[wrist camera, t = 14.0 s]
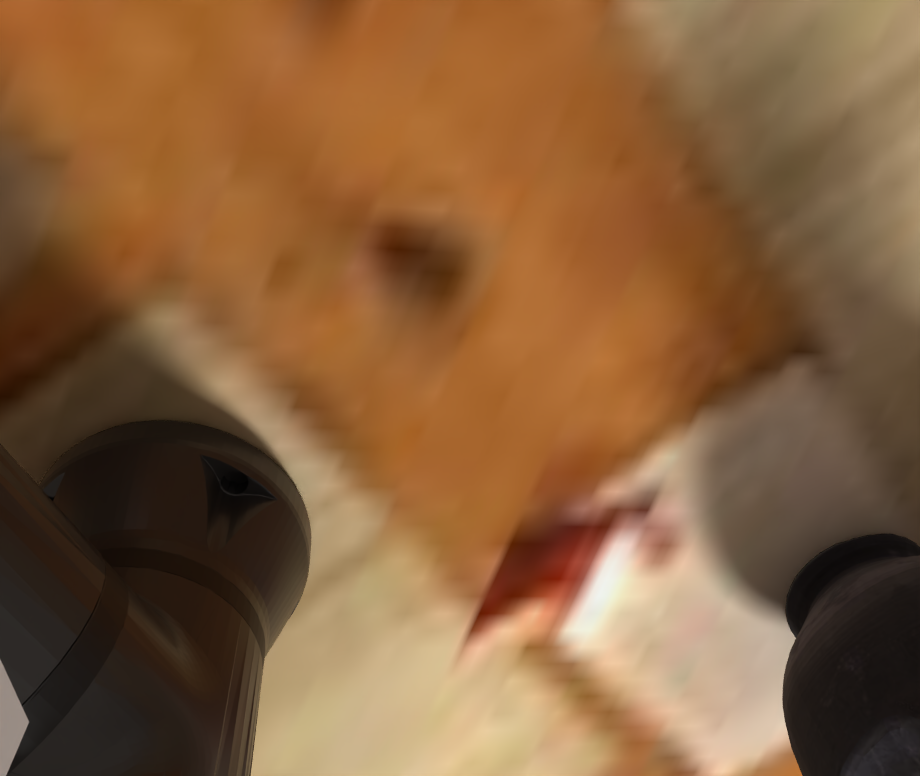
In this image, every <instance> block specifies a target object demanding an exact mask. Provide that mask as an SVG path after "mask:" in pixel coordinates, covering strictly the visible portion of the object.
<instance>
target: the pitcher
mask: <svg viewBox="0 0 920 776" xmlns="http://www.w3.org/2000/svg"><path fill="white" fill-rule="evenodd" d="M786 615H787V621H788V624H789V627H790V629H791V631H792V633H793V634H794V636H795V637H796V640H795V642H794V644H793V647H792V649H791V651H790V654H789V658H788V661H787V665H786V669H785V674H784V681H783V698H782V699H783V711H784V717H785V723H786V727H787V731H788V735H789V739H790V743H791V747H792V750H793V752H794V755H795V758H796V760H797V763H798V765H799V768H800V770H801V773H802V775H803V776H920V547H919V546H918V545H917V544H916V543H914V542H913V541H911V540H909V539H907V538H904V537H901V536H897V535H893V534H880V535H867V536H863V537H858V538H854V539H851V540H848V541H845V542H842V543H839V544H836V545H834V546H832V547H830V548H828V549H827V550H825V551H823V552H821V553H820V554H819V555H817V556H816V557H815V558H814V559H813V560H811V561H810V562H809V563H808V564H807V565H806V566H805V567H804V568H803V569H802V570H801V571H800V572H799V574H798V575H797V577H796V578H795V580H794V581H793V583H792V585H791V588H790V590H789V593H788V595H787V603H786Z"/></svg>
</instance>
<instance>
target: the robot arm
mask: <svg viewBox="0 0 920 776" xmlns="http://www.w3.org/2000/svg"><path fill="white" fill-rule="evenodd" d="M310 551H311V528H310V522H309V518H308V514H307V511H306V508H305V505H304V503H303V500H302V498H301V496H300V494H299V493H298V491H297V489H296V487H295V486H294V484H293V483H292V481H291V480H290V479H289V478H288V476H287V475H286V474H285V473H284V472H283V471H282V469H281V468H280V467H279V466H278V465H277V464H276V463H274V462H273V461H272V460H271V459H270V458H269V457H267V456H266V455H265V454H264V453H262V452H261V451H259V450H258V449H257V448H255V447H253V446H252V445H250V444H249V443H247V442H245V441H243V440H241V439H239V438H237V437H235V436H233V435H230V434H228V433H226V432H223V431H220V430H217V429H214V428H210V427H207V426H203V425H198V424H194V423H187V422H179V421H144V422H136V423H130V424H125V425H121V426H117V427H114V428H110V429H107V430H105V431H102V432H99V433H97V434H95V435H93V436H91V437H88V438H87V439H85V440H83V441H81V442H80V443H78V444H77V445H75V446H74V447H72V448H71V449H70V450H68V451H67V452H66V453H65V454H63V455H62V456H61V457H60V458H59V459H58V460H57V461H56V462H55V463H54V465H53V466H52V467H51V468H50V469H49V471H48V472H47V474H46V475H45V477H44V478H43V480H42V481H41V483H40V485H39V486H38V485H37V483H36V482H35V481H34V480H33V479H32V478H31V477H30V476H29V475H28V474H27V473H26V471H25V470H24V469H23V468H22V467H21V466H20V465H19V464H18V463H17V462H16V461H15V459H14V458H13V457H12V456H11V455H10V454H9V453H8V452H7V451H6V450H5V448H4V447H3V446H2V445H1V444H0V776H250V775H251V766H252V758H253V749H254V741H255V732H256V724H257V715H258V707H259V698H260V690H261V682H262V674H263V666H264V658H265V656H266V655H267V653H268V652H269V650H270V649H271V647H272V645H273V644H274V642H275V641H276V639H277V637H278V636H279V634H280V633H281V631H282V629H283V627H284V626H285V624H286V622H287V621H288V619H289V618H290V616H291V615H292V613H293V612H294V610H295V608H296V607H297V605H298V603H299V601H300V599H301V596H302V594H303V591H304V588H305V585H306V582H307V577H308V572H309V563H310Z"/></svg>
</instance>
